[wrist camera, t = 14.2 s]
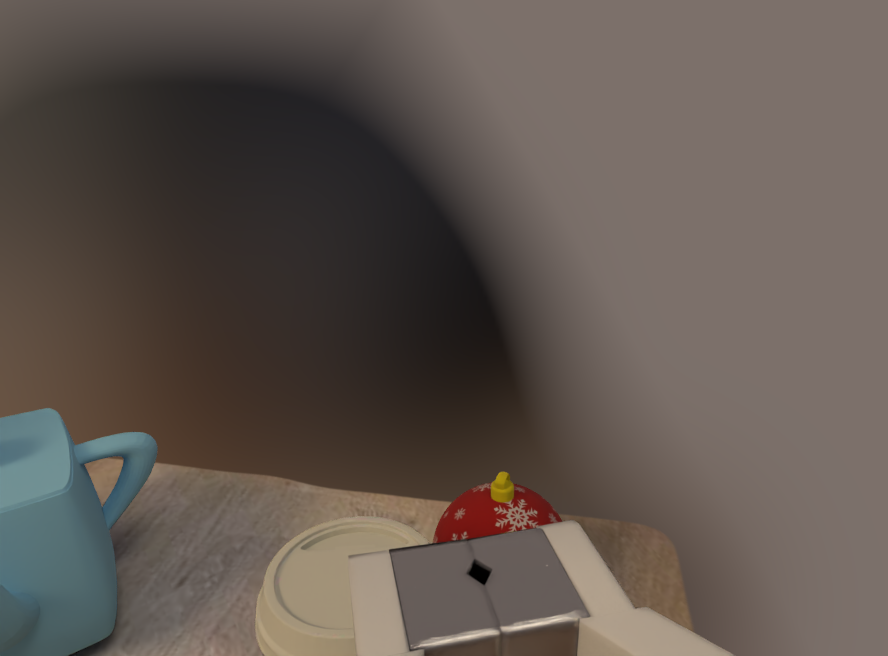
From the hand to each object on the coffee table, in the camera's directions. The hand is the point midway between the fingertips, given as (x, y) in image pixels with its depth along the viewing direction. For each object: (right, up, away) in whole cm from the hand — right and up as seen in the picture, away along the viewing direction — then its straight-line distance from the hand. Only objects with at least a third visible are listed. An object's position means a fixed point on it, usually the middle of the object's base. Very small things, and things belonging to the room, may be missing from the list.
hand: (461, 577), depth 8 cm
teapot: (-27, -16, +31) cm, 44 cm away
